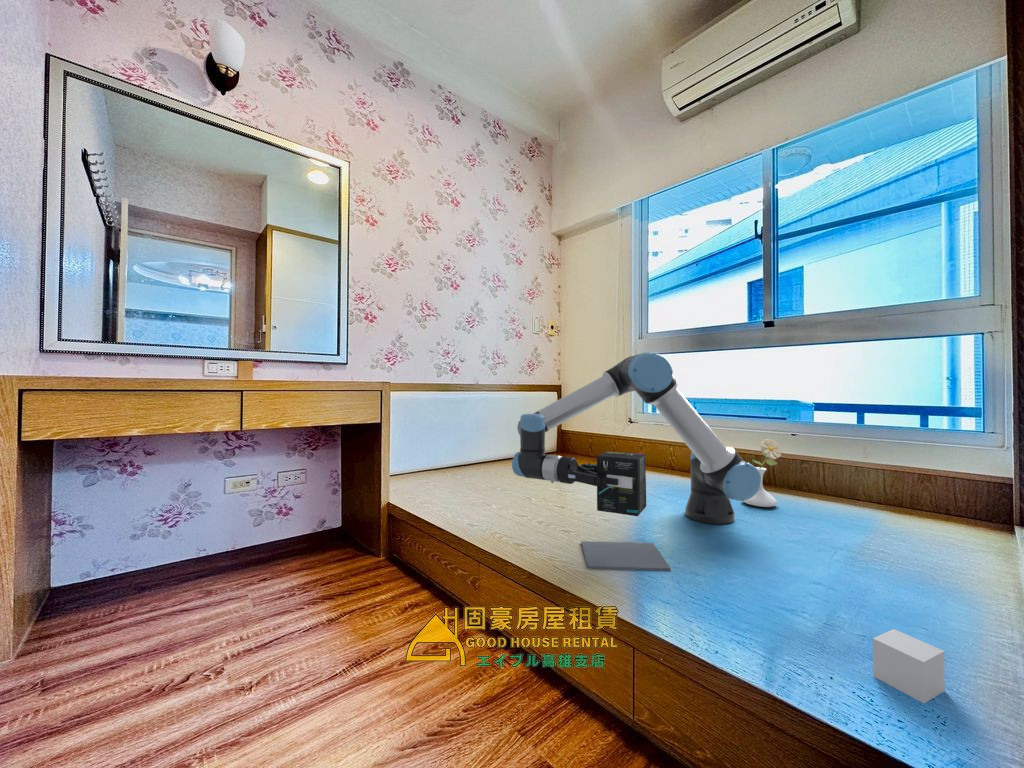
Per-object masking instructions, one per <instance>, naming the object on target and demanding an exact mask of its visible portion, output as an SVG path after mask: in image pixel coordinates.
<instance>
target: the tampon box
mask: <svg viewBox="0 0 1024 768" xmlns="http://www.w3.org/2000/svg"><path fill="white" fill-rule="evenodd" d="M646 457H647V456H646V453H637V452H636V453H635V452H623V451H621V452H619V451H609V450H608V451H605V452H602V453H601V454H599V455H596V464H597V474H602V475H605V476H606V475H607V474H609V475H617V476H625V477H632V489H629V488H622V487H615V486H608V485H606V488H601V485H600V486H599V487H597V486H596V510H597V511H598V512H606V513H612V514H619V515H626V516H633V517H639V516H640V514H641V513H642V512H643V511H644V509H646V507H647V474H646V473H647V472H646Z"/></svg>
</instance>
